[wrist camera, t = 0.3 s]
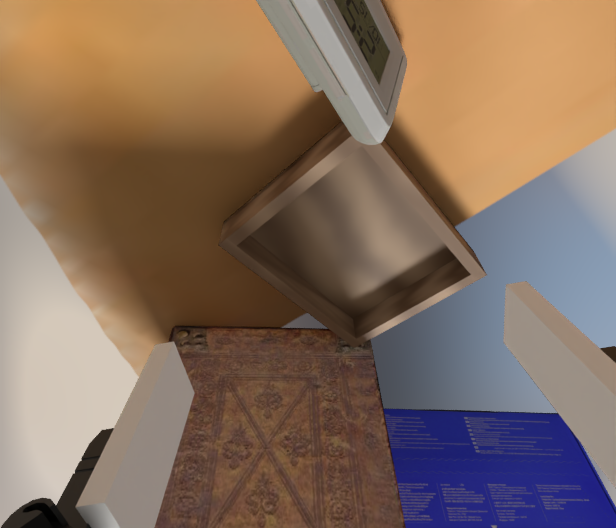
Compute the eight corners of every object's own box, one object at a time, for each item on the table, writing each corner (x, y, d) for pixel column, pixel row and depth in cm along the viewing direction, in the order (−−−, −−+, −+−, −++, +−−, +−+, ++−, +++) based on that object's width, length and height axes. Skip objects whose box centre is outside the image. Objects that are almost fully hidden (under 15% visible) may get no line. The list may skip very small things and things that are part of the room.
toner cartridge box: (331, 429, 70) (340, 557, 56) (339, 403, 65) (351, 536, 51) (542, 436, 74) (600, 558, 60) (565, 412, 69) (636, 539, 54)
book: (183, 368, 58) (110, 662, 35) (172, 325, 52) (77, 646, 29) (360, 370, 59) (401, 654, 36) (369, 328, 53) (426, 637, 30)
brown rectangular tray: (358, 107, 35) (364, 124, 32) (473, 251, 45) (486, 275, 42) (223, 221, 42) (218, 245, 39) (350, 323, 52) (354, 348, 49)
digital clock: (407, 75, 33) (444, 124, 25) (306, 118, 35) (310, 176, 27) (342, -199, 24) (368, -265, 15) (207, -118, 26) (167, -138, 17)
